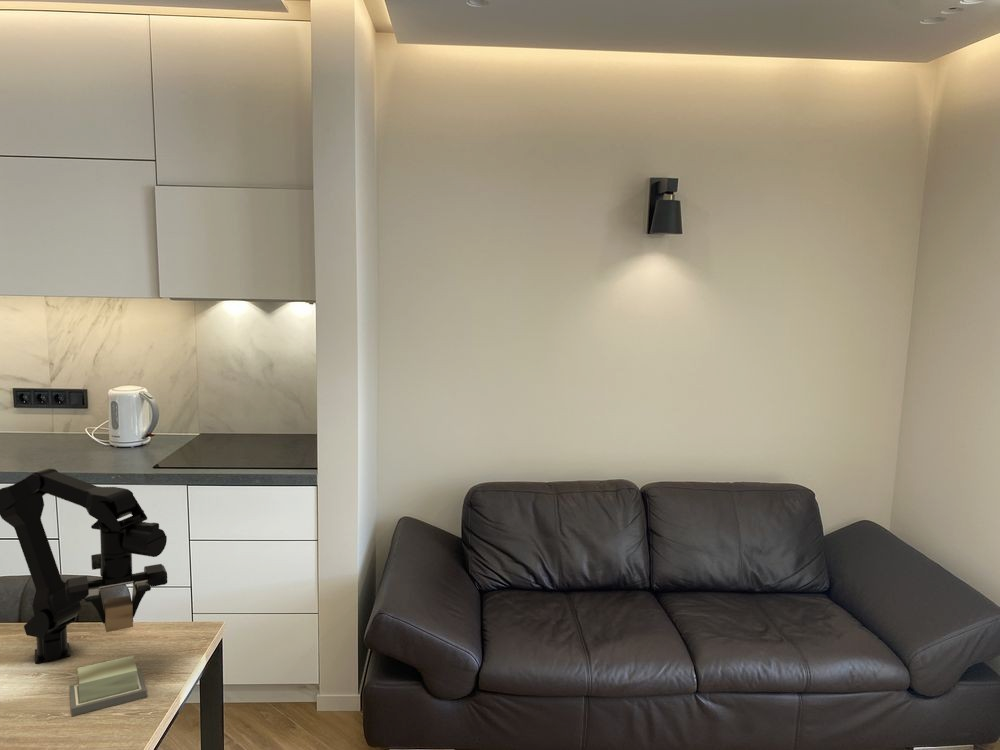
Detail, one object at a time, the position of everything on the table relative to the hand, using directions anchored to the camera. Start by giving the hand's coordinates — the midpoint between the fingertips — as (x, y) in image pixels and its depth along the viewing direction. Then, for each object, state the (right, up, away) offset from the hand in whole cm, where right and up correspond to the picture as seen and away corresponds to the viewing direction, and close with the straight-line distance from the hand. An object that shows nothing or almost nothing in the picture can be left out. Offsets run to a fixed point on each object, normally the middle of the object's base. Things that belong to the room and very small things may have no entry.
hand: (118, 619), depth 152 cm
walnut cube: (0, -1, 0) cm, 1 cm away
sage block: (+2, -11, -9) cm, 14 cm away
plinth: (+2, -12, -8) cm, 15 cm away
